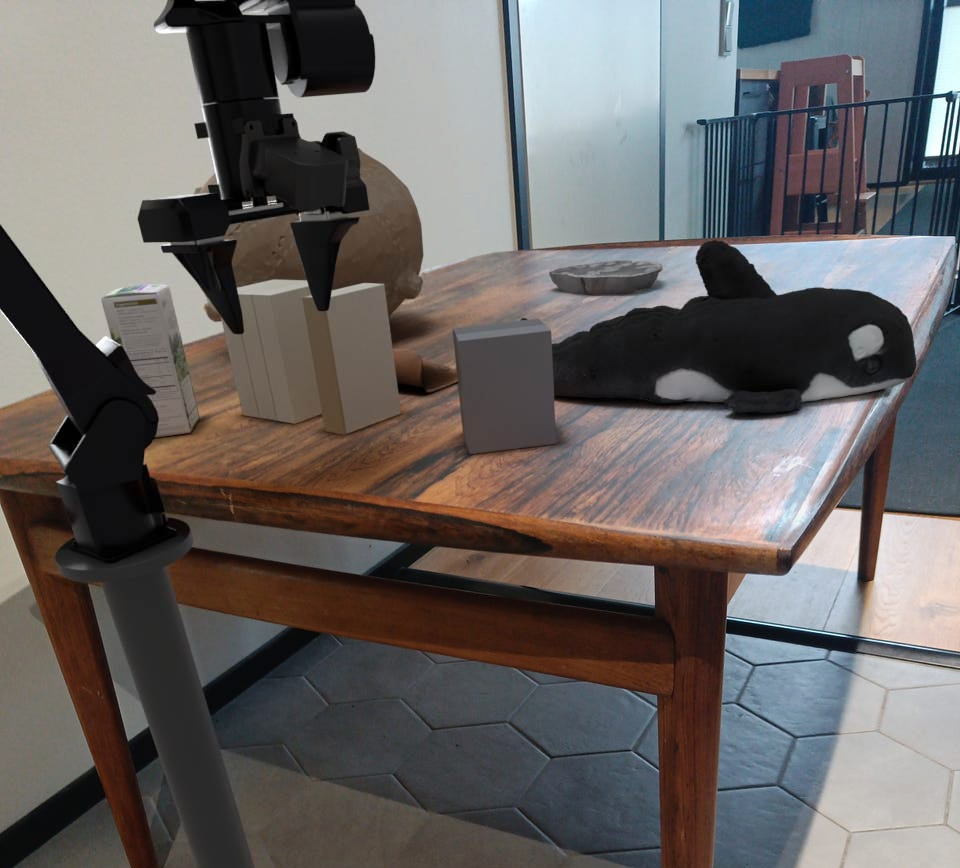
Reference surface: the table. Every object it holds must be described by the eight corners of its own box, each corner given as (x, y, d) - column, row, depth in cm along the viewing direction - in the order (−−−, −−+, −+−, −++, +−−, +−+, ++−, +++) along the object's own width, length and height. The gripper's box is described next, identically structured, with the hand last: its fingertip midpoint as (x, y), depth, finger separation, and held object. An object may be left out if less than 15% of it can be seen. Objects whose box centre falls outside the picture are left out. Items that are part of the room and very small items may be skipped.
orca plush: (893, 429, 76) (920, 246, 69) (480, 403, 95) (467, 258, 87) (921, 367, 92) (946, 213, 85) (562, 355, 110) (557, 229, 103)
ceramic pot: (219, 377, 117) (169, 163, 104) (203, 336, 145) (163, 163, 132) (459, 339, 125) (440, 136, 112) (400, 307, 153) (380, 141, 140)
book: (344, 435, 89) (322, 298, 82) (325, 431, 91) (301, 297, 84) (401, 414, 94) (384, 283, 87) (381, 410, 96) (363, 282, 89)
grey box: (469, 454, 80) (458, 340, 75) (462, 435, 85) (452, 328, 80) (556, 444, 81) (551, 330, 76) (544, 425, 86) (539, 318, 81)
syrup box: (149, 425, 99) (111, 287, 92) (202, 419, 99) (168, 281, 92) (138, 440, 94) (96, 296, 87) (194, 433, 94) (157, 289, 87)
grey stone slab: (686, 280, 151) (686, 261, 150) (631, 298, 140) (631, 278, 139) (591, 277, 163) (591, 259, 161) (534, 293, 152) (533, 275, 151)
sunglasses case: (470, 373, 105) (447, 328, 99) (441, 417, 102) (415, 374, 97) (362, 362, 115) (336, 322, 110) (333, 402, 113) (305, 363, 107)
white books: (295, 424, 94) (269, 295, 88) (242, 415, 99) (215, 292, 93) (348, 404, 99) (328, 280, 93) (296, 396, 104) (273, 279, 98)
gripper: (202, 96, 55) (257, 354, 63) (404, 86, 67) (429, 303, 75) (105, 113, 61) (165, 345, 69) (306, 101, 73) (338, 299, 81)
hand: (282, 322), depth 73 cm, fingers open, 9 cm apart
